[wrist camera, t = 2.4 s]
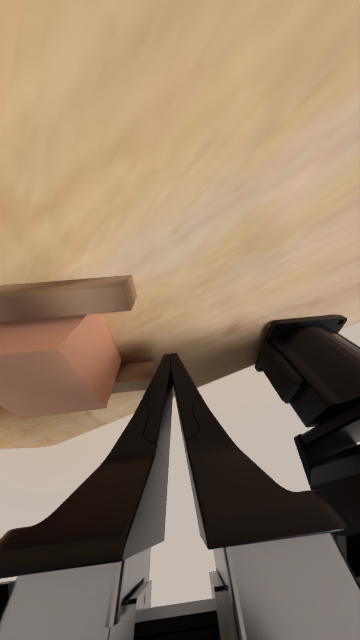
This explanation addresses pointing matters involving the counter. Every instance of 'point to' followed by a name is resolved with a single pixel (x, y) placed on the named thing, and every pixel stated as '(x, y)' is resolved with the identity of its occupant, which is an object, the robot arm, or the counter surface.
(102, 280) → the wooden blocks
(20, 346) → the terracotta block
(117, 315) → the counter surface
